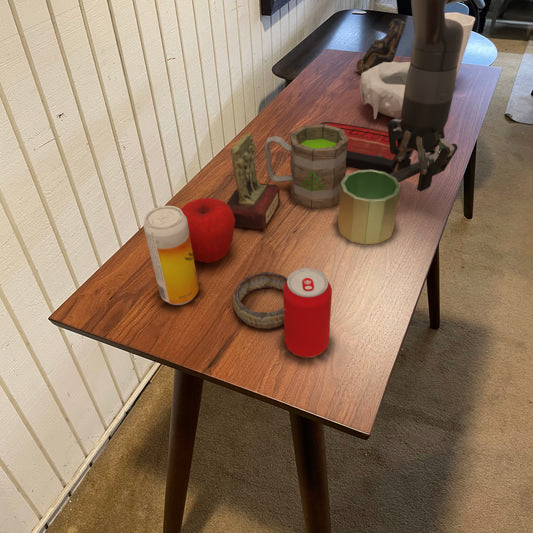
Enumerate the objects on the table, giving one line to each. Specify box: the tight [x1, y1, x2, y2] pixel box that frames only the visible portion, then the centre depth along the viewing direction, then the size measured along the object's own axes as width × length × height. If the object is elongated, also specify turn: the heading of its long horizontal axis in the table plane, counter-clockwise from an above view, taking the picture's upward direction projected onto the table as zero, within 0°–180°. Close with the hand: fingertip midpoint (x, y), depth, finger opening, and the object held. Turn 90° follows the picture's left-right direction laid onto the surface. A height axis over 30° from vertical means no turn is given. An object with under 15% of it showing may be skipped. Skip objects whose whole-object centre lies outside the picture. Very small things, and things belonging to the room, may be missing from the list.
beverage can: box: [282, 267, 333, 358], centre depth 68 cm, size 6×6×12 cm
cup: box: [445, 12, 476, 75], centre depth 130 cm, size 11×10×17 cm
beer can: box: [142, 205, 200, 306], centre depth 76 cm, size 6×6×15 cm
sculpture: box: [226, 133, 281, 230], centre depth 91 cm, size 10×8×15 cm
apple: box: [180, 197, 236, 264], centre depth 84 cm, size 10×10×11 cm
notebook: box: [320, 121, 398, 174], centre depth 113 cm, size 16×2×21 cm
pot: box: [337, 160, 421, 245], centre depth 90 cm, size 18×10×9 cm, turn 125°
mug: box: [264, 123, 349, 210], centre depth 97 cm, size 16×11×12 cm
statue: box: [355, 18, 406, 74], centre depth 139 cm, size 6×12×15 cm, turn 67°
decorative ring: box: [232, 271, 288, 330], centre depth 77 cm, size 10×3×10 cm
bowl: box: [358, 61, 411, 120], centre depth 122 cm, size 21×20×10 cm
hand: (412, 183), depth 93 cm, fingers open, 4 cm apart
